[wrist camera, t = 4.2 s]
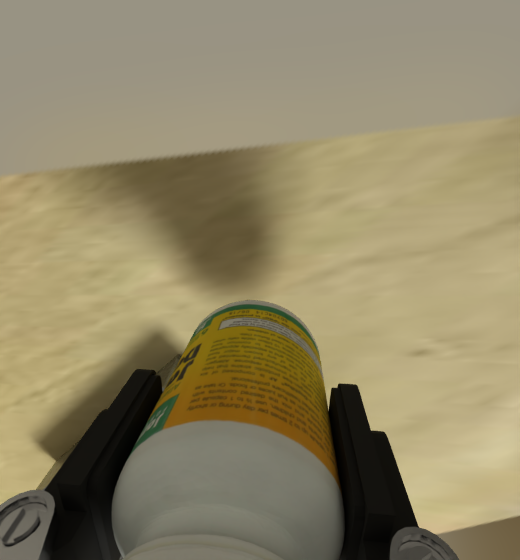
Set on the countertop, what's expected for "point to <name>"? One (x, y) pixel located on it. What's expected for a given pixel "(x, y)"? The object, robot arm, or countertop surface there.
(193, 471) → the supplement bottle
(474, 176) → the countertop surface
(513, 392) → the countertop surface
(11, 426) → the countertop surface
